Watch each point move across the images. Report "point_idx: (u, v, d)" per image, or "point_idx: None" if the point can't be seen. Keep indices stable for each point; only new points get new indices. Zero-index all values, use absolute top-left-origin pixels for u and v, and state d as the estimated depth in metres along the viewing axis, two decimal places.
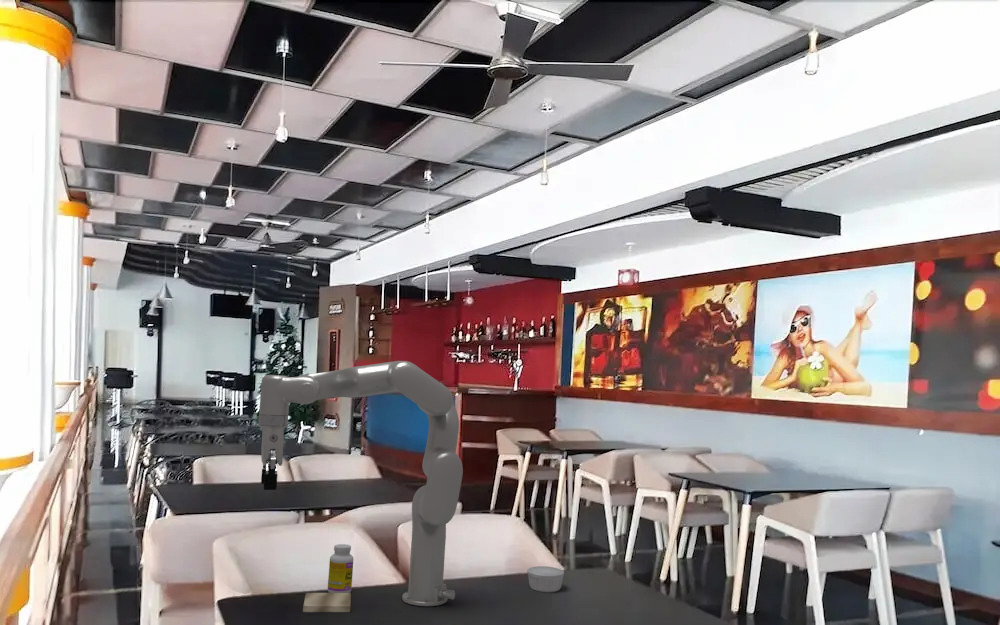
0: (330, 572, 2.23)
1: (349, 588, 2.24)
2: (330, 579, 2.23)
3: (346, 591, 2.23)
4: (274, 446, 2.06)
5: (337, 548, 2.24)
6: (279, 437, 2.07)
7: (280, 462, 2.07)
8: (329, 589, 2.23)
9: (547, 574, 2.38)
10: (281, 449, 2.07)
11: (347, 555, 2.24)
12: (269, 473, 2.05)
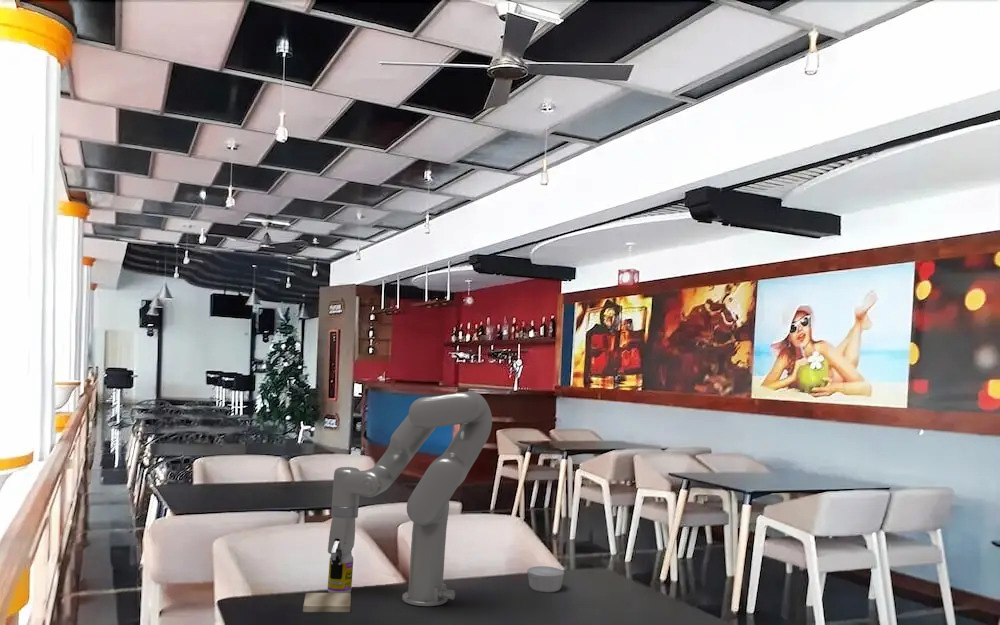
0: (330, 572, 2.23)
1: (349, 587, 2.24)
2: (330, 579, 2.23)
3: (346, 591, 2.23)
4: None
5: None
6: None
7: None
8: (329, 589, 2.23)
9: (547, 574, 2.38)
10: None
11: (347, 555, 2.24)
12: None
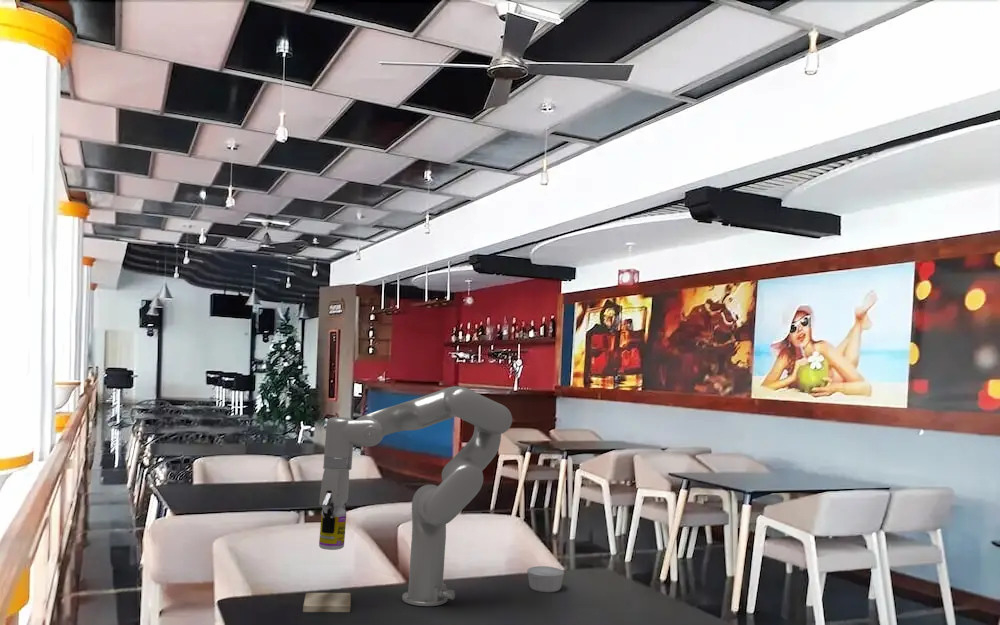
0: None
1: (342, 543, 2.13)
2: (321, 533, 2.12)
3: (338, 546, 2.12)
4: None
5: None
6: None
7: None
8: (320, 544, 2.12)
9: (547, 574, 2.38)
10: None
11: (339, 509, 2.14)
12: None
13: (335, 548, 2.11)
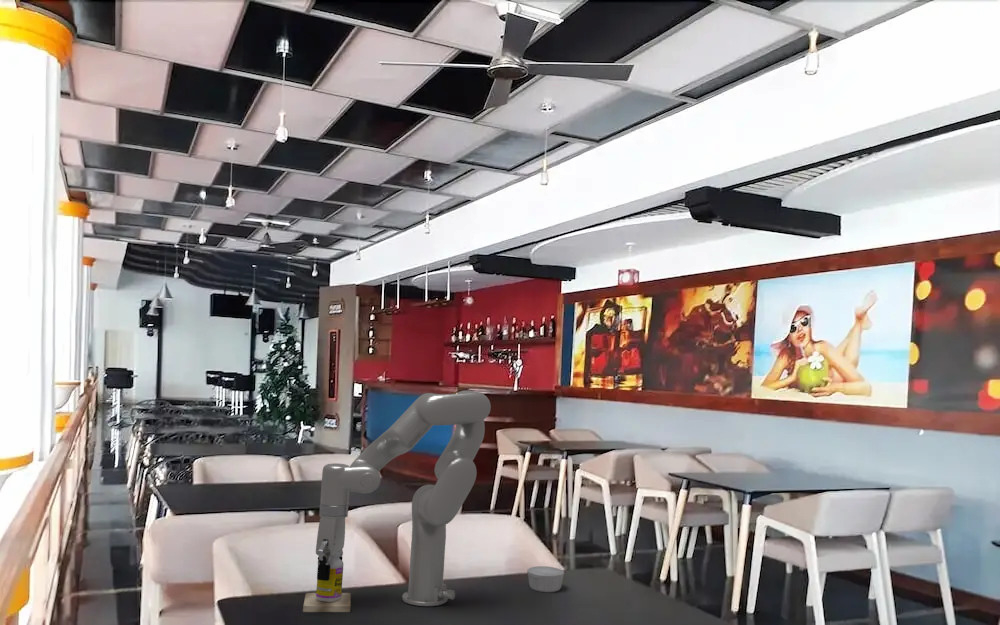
0: None
1: (339, 594, 2.12)
2: (319, 585, 2.11)
3: (335, 598, 2.10)
4: None
5: None
6: None
7: None
8: (317, 596, 2.10)
9: (547, 574, 2.38)
10: None
11: (337, 560, 2.12)
12: None
13: (332, 600, 2.10)
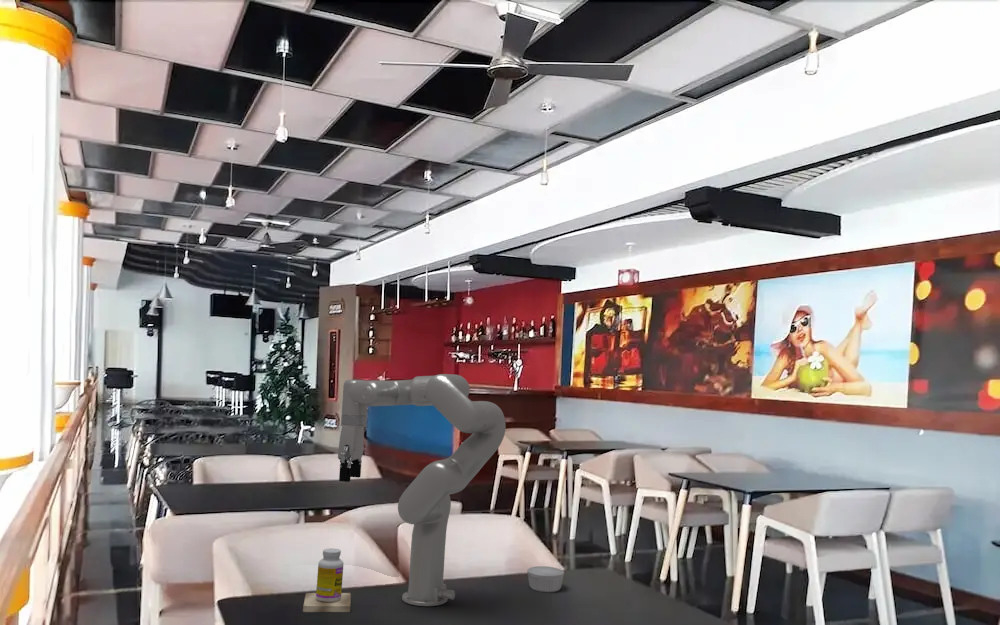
0: (319, 578, 2.11)
1: (339, 594, 2.12)
2: (318, 585, 2.11)
3: (335, 598, 2.10)
4: None
5: (326, 553, 2.12)
6: None
7: None
8: (317, 596, 2.10)
9: (547, 574, 2.38)
10: None
11: (337, 560, 2.12)
12: None
13: (332, 600, 2.10)
